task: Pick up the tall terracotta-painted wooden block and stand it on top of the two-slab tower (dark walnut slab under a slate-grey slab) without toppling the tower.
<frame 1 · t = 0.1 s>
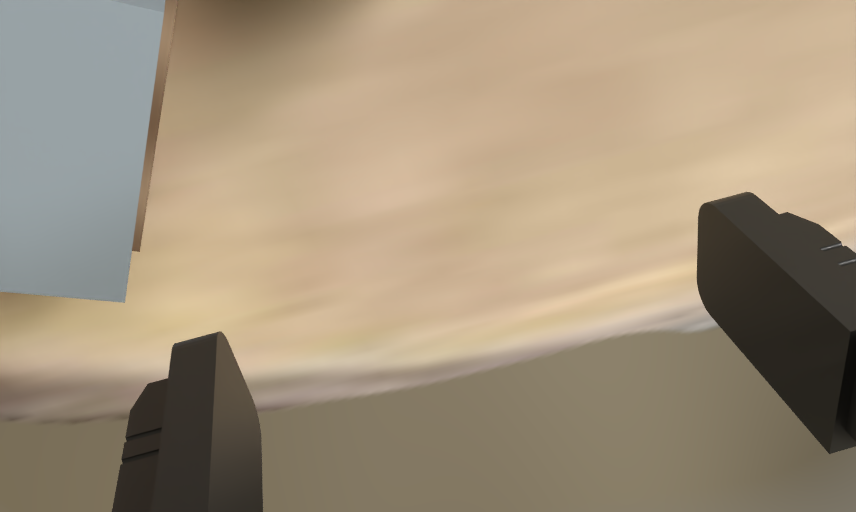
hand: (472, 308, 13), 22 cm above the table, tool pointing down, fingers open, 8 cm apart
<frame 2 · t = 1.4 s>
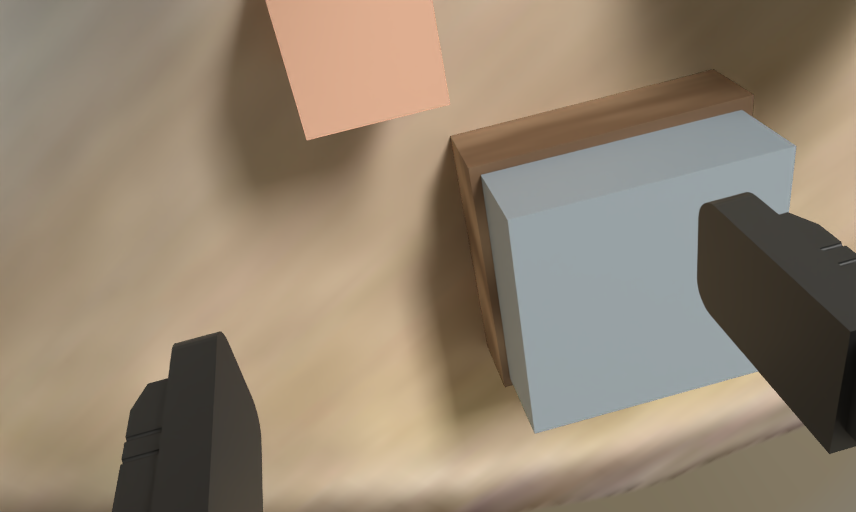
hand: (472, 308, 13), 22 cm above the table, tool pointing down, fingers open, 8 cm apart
tower base: (587, 213, 40), on the table, touching tower top
tower top: (616, 254, 36), point 3 cm above the table, touching tower base
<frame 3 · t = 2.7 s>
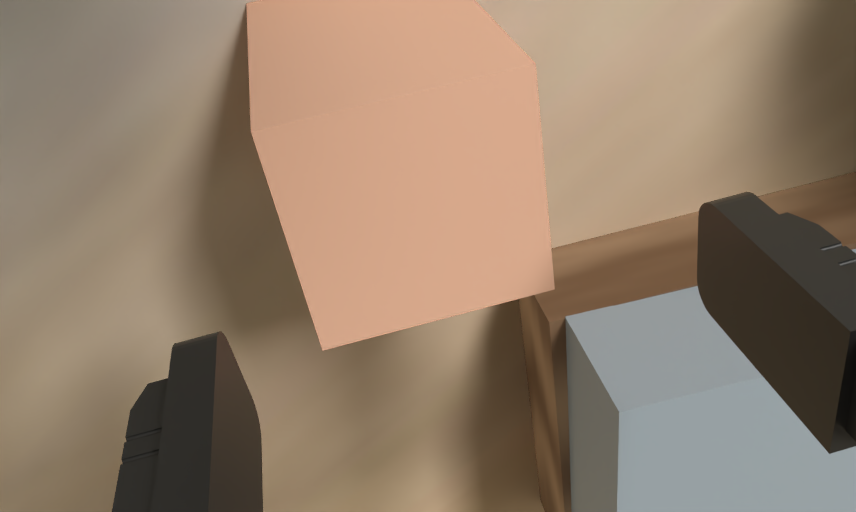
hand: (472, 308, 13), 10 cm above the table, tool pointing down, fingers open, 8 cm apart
terracotta block: (363, 73, 21), on the table
tower base: (682, 343, 30), on the table, touching tower top
tower top: (733, 410, 27), point 3 cm above the table, touching tower base
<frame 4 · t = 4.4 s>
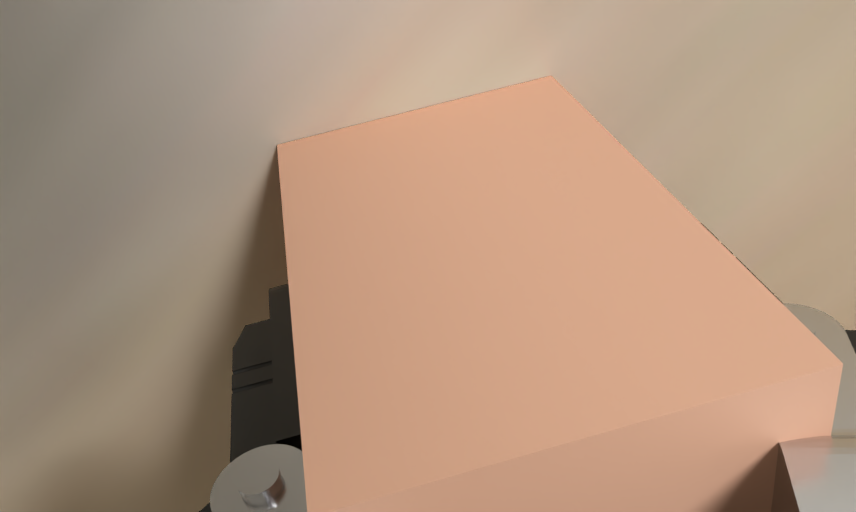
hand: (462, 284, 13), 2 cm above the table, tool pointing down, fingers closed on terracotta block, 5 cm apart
terracotta block: (439, 228, 15), on the table, touching gripper
when the fingers open (11 cm above the table, at t = 9.5 s): terracotta block drops 2 cm, resting on tower top.
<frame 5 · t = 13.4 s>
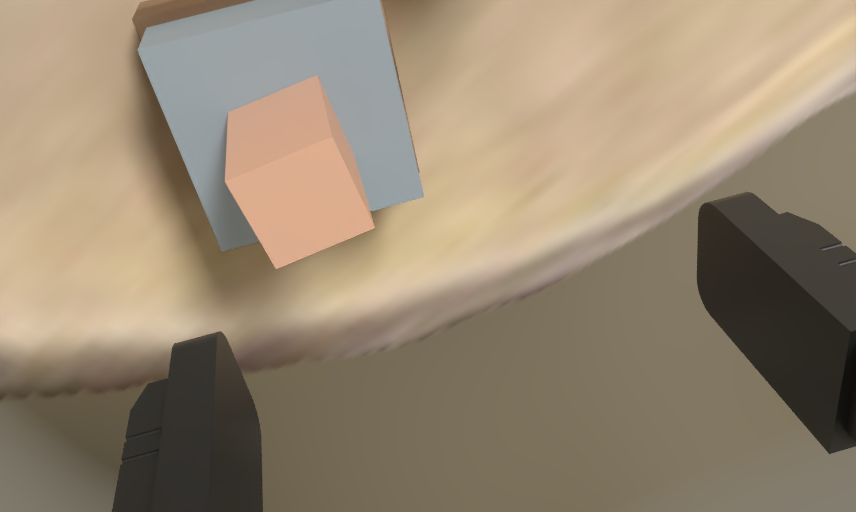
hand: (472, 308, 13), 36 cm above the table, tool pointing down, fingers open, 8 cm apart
terracotta block: (293, 134, 41), point 7 cm above the table, touching tower top
tower base: (286, 80, 47), on the table, touching tower top
tower top: (290, 103, 44), point 3 cm above the table, touching terracotta block, tower base
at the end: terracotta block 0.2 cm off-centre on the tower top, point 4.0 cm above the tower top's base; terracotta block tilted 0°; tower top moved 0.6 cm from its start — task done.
